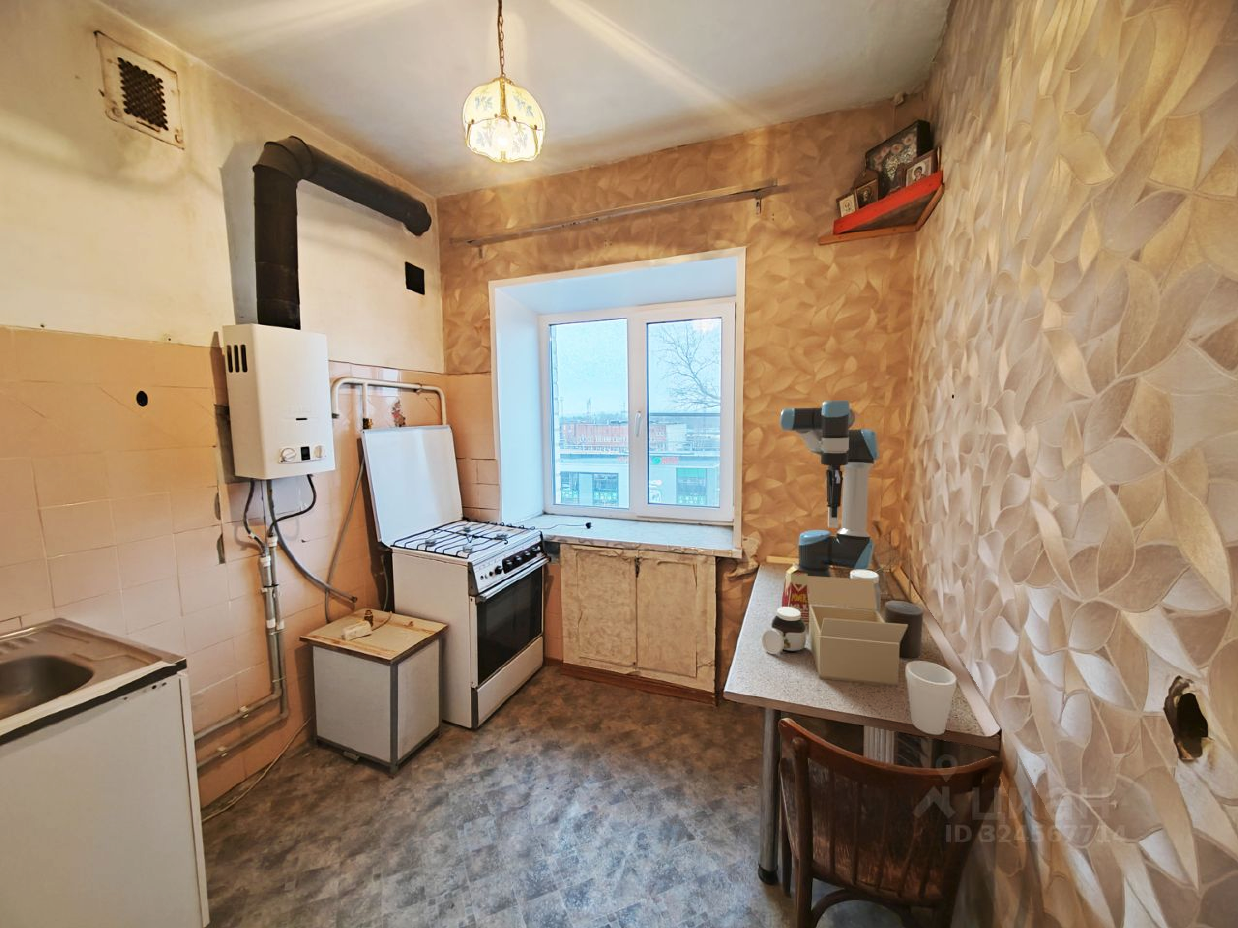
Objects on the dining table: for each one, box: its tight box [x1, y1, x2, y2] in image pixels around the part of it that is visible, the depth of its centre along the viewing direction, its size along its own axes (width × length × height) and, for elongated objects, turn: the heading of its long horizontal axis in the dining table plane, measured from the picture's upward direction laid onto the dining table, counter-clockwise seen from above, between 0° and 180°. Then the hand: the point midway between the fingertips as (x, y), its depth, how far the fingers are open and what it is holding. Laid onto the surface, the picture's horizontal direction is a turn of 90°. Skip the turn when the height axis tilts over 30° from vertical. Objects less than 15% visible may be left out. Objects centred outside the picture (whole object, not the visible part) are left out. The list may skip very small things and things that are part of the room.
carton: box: [808, 605, 900, 688], centre depth 129 cm, size 20×19×12 cm
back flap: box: [807, 576, 877, 610], centre depth 139 cm, size 9×19×1 cm
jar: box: [846, 569, 882, 615], centre depth 150 cm, size 10×10×18 cm
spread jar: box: [761, 606, 807, 655], centre depth 137 cm, size 12×11×12 cm
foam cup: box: [904, 660, 957, 735], centre depth 103 cm, size 10×9×13 cm
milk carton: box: [780, 562, 809, 626], centre depth 156 cm, size 9×9×20 cm
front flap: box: [820, 618, 908, 643], centre depth 116 cm, size 9×19×1 cm
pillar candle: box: [883, 600, 924, 660], centre depth 134 cm, size 10×10×15 cm
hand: (832, 526), depth 139 cm, fingers closed
